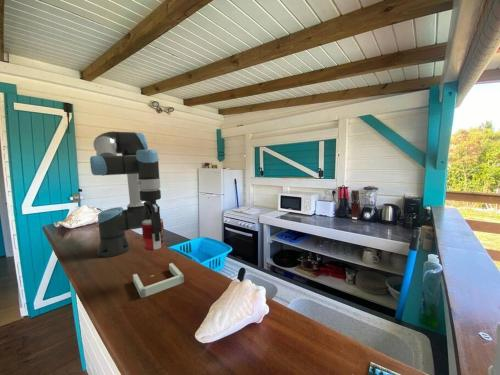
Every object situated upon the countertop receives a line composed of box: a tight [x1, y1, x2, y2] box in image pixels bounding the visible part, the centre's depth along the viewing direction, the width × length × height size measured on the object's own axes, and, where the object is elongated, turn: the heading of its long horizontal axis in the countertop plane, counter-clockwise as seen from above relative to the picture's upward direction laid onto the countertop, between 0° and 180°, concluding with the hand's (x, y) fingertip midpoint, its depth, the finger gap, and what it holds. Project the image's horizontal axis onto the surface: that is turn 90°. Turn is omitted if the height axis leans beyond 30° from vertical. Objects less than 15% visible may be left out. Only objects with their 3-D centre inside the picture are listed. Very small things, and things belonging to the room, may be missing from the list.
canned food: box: [141, 218, 166, 251], centre depth 88 cm, size 8×8×11 cm
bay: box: [132, 262, 185, 299], centre depth 88 cm, size 14×16×3 cm
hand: (154, 245), depth 88 cm, fingers closed on canned food, 8 cm apart
